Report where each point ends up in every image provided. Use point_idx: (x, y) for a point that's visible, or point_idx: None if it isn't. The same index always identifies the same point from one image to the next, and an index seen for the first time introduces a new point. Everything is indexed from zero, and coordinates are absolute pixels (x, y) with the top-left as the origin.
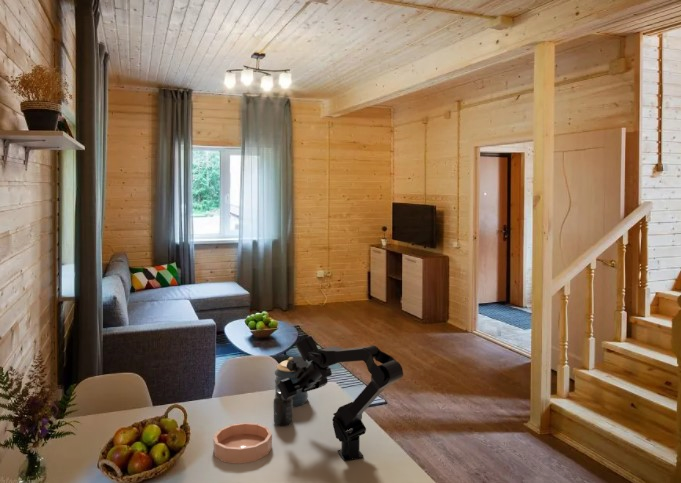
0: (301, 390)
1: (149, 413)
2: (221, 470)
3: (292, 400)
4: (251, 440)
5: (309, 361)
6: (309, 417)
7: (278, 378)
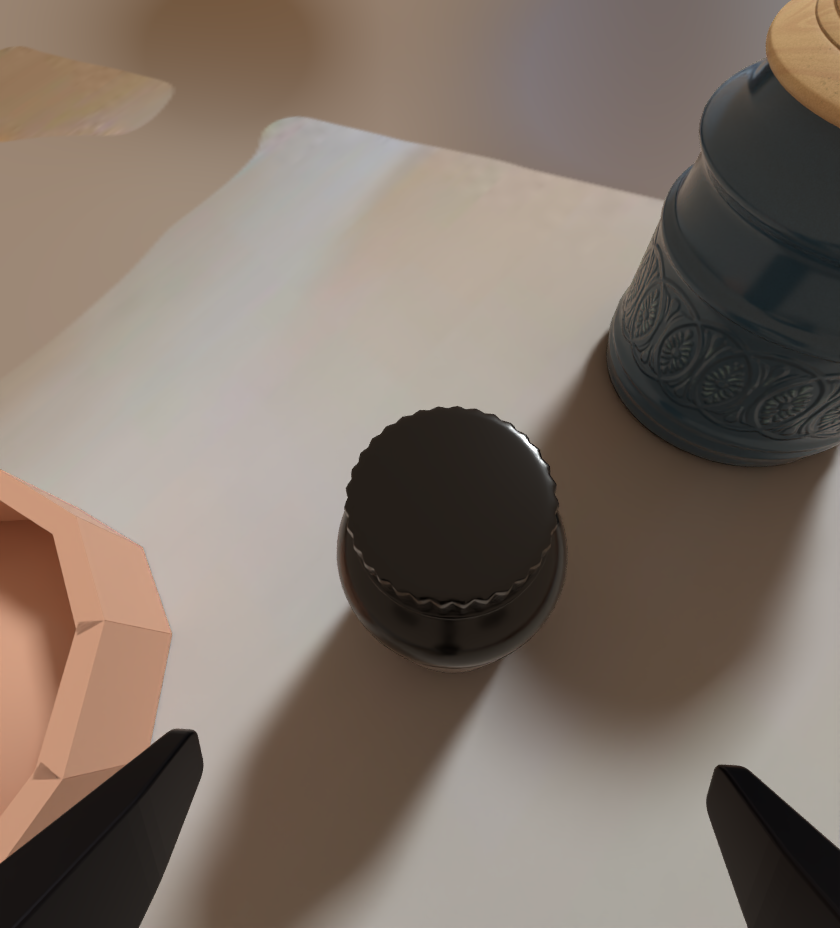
0: (717, 775)
1: (134, 116)
2: None
3: (537, 630)
4: (36, 683)
5: None
6: (681, 690)
7: (701, 175)
